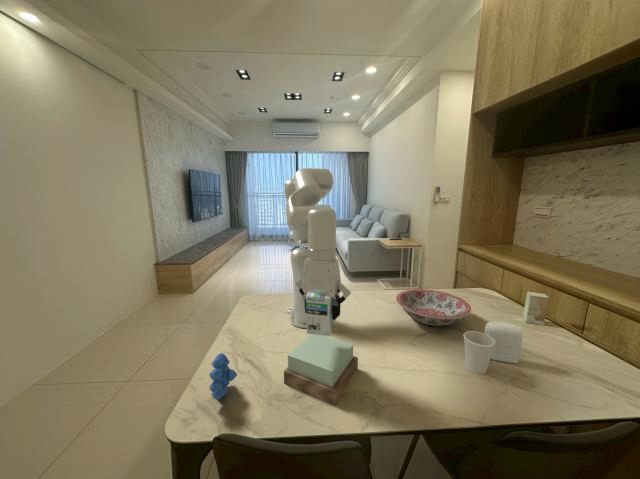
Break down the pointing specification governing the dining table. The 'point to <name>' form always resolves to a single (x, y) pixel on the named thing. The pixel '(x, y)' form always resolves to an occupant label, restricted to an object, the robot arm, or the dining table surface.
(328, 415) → the dining table surface
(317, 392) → the tower base block
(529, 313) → the skincare box
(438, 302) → the ceramic bowl
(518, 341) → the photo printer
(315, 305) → the light bulb box
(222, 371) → the grapes
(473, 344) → the dixie cup
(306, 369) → the tower top block
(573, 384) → the dining table surface
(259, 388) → the dining table surface
